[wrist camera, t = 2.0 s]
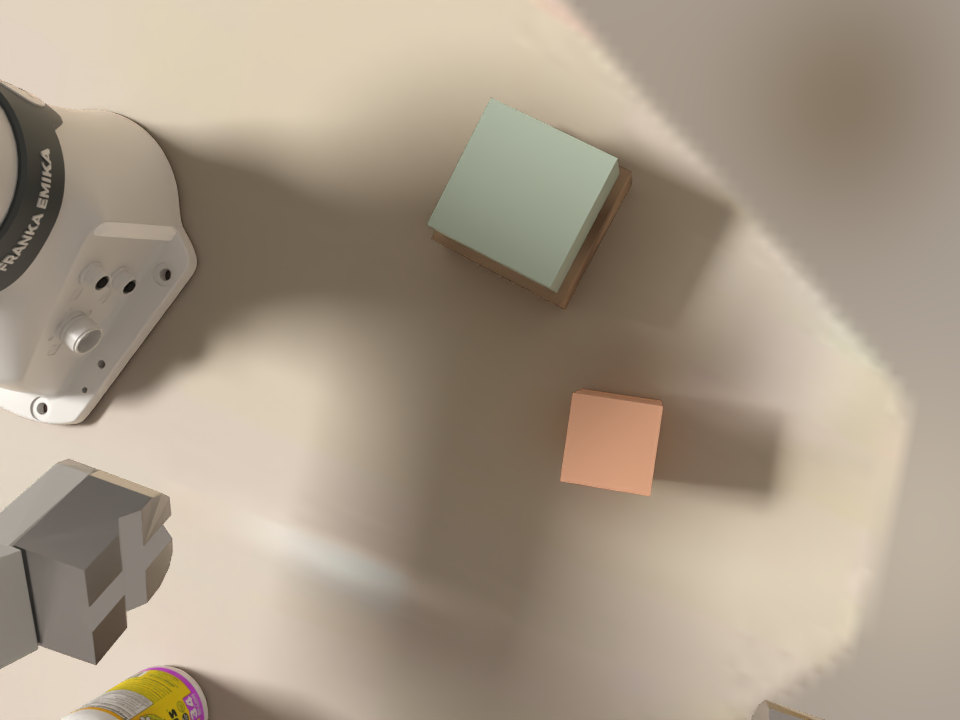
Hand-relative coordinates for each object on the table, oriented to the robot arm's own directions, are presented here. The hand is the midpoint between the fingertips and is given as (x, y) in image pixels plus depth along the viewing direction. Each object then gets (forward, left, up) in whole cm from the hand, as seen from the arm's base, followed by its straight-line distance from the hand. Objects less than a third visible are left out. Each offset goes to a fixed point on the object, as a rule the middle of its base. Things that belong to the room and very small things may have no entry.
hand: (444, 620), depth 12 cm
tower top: (+9, +10, -42) cm, 44 cm away
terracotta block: (-1, -1, -46) cm, 46 cm away
